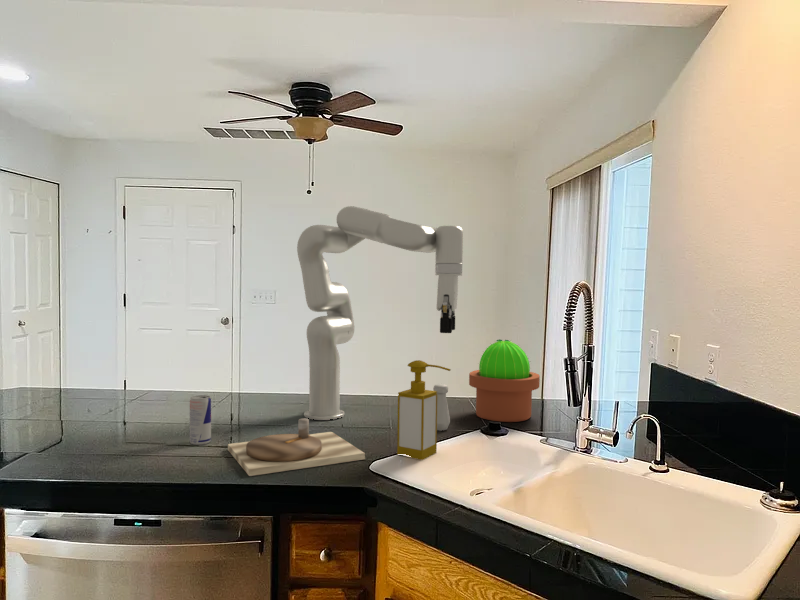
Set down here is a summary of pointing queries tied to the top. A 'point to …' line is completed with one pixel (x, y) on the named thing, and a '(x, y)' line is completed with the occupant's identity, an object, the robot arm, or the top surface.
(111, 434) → the top surface
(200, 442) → the energy drink
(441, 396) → the salt shaker
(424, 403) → the soap bottle
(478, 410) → the potted cactus
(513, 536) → the top surface
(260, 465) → the wooden cutting board
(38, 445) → the top surface
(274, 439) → the dial
